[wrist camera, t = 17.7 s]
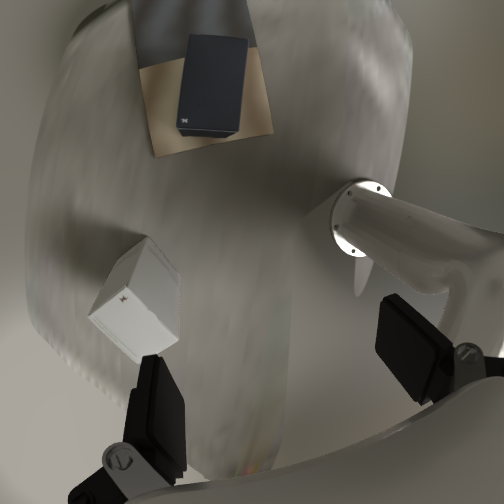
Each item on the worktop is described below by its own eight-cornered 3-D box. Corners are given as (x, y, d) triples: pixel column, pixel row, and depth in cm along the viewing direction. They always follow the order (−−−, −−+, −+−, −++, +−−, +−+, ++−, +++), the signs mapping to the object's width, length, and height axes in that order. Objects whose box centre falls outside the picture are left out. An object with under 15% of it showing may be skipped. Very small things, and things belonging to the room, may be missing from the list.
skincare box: (117, 258, 38) (81, 315, 24) (150, 232, 38) (124, 282, 23) (151, 299, 41) (136, 367, 27) (184, 276, 41) (180, 342, 27)
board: (239, -17, 26) (240, -20, 25) (272, 133, 36) (274, 133, 35) (132, 2, 25) (131, -1, 24) (156, 158, 34) (155, 158, 33)
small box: (230, 139, 34) (241, 135, 25) (180, 136, 33) (172, 131, 23) (238, 65, 31) (252, 37, 21) (189, 62, 30) (186, 32, 20)
